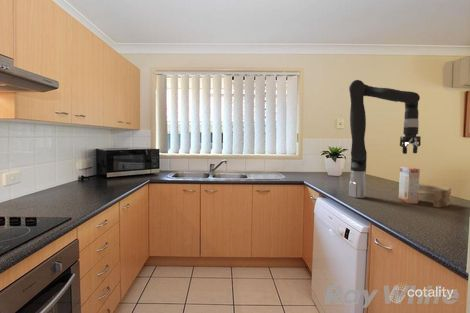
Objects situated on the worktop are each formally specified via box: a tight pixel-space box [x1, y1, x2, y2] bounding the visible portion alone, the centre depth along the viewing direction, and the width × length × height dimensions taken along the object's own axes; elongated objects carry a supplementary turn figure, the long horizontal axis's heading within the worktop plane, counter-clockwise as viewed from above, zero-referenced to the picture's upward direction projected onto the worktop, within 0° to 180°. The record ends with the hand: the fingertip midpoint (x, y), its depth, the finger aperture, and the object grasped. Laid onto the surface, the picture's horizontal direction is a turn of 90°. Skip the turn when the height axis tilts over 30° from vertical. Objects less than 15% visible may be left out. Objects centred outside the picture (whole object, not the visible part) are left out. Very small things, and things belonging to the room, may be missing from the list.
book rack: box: [418, 182, 452, 208], centre depth 164 cm, size 10×21×10 cm, turn 20°
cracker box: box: [398, 165, 420, 205], centre depth 167 cm, size 14×6×21 cm, turn 168°
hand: (409, 153), depth 165 cm, fingers open, 8 cm apart
